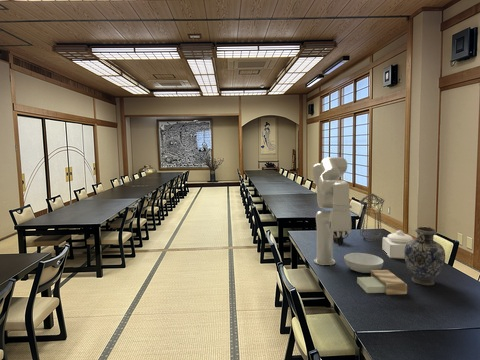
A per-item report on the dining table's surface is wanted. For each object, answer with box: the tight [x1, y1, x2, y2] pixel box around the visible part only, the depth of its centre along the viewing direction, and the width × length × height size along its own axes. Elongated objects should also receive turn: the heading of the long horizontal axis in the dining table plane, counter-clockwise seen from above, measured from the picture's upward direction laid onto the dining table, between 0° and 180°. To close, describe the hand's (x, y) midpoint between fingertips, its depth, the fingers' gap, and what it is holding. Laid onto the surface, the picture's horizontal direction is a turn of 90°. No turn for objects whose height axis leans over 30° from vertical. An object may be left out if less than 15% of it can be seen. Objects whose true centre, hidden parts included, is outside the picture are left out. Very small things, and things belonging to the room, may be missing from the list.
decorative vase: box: [404, 226, 446, 287], centre depth 176 cm, size 21×19×28 cm
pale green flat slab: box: [356, 276, 386, 294], centre depth 170 cm, size 12×16×3 cm
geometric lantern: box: [358, 193, 385, 242], centre depth 252 cm, size 16×16×35 cm
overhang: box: [370, 269, 408, 296], centre depth 171 cm, size 17×10×5 cm, turn 3°
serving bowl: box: [343, 252, 384, 274], centre depth 193 cm, size 21×21×7 cm
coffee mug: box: [333, 231, 349, 243], centre depth 247 cm, size 12×9×10 cm
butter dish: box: [381, 229, 414, 259], centre depth 220 cm, size 18×18×16 cm
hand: (339, 244), depth 168 cm, fingers closed
